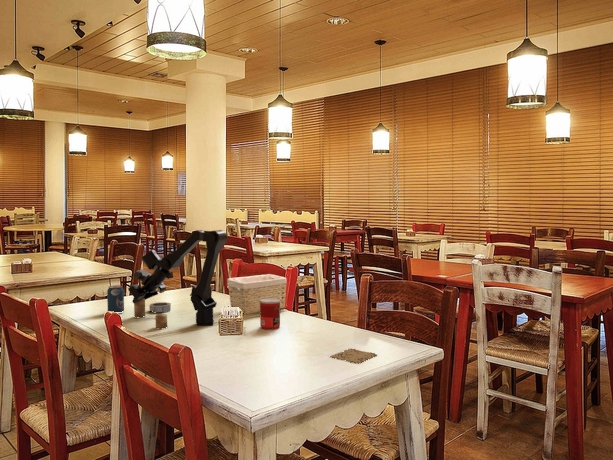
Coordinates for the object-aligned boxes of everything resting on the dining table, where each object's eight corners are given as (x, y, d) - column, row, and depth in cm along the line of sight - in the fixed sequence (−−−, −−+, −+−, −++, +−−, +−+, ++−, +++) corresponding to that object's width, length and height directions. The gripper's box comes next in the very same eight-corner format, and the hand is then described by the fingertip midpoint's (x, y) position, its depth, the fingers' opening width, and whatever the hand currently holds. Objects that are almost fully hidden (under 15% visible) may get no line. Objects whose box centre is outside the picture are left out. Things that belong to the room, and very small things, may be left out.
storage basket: (243, 315, 230) (242, 282, 229) (226, 309, 243) (225, 277, 242) (288, 309, 244) (288, 277, 243) (270, 303, 257) (269, 273, 256)
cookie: (348, 349, 181) (348, 346, 181) (379, 356, 173) (379, 353, 173) (327, 358, 172) (327, 355, 172) (358, 365, 164) (358, 362, 164)
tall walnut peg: (146, 315, 230) (145, 288, 230) (144, 317, 226) (143, 290, 225) (135, 315, 230) (134, 288, 229) (133, 318, 225) (132, 290, 225)
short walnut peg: (168, 326, 212) (167, 313, 212) (166, 328, 208) (166, 316, 207) (156, 326, 211) (156, 314, 211) (154, 329, 207) (154, 316, 207)
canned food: (277, 330, 205) (277, 302, 205) (257, 329, 207) (257, 301, 206) (282, 325, 213) (282, 298, 212) (263, 324, 215) (263, 297, 214)
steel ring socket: (171, 308, 245) (171, 302, 244) (169, 312, 236) (168, 306, 236) (151, 309, 243) (151, 302, 243) (148, 313, 235) (148, 306, 234)
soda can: (120, 314, 232) (120, 287, 231) (105, 314, 232) (104, 287, 231) (126, 311, 239) (125, 285, 238) (111, 311, 239) (110, 285, 238)
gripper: (159, 261, 233) (140, 284, 238) (131, 266, 216) (110, 291, 221) (175, 279, 231) (154, 302, 236) (147, 286, 214) (126, 311, 219)
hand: (137, 301), depth 228 cm, fingers closed on tall walnut peg, 4 cm apart
